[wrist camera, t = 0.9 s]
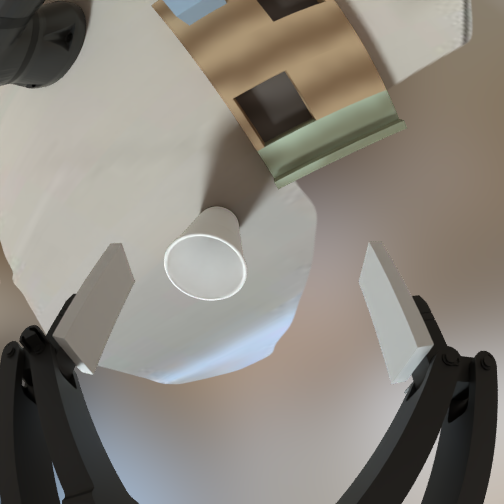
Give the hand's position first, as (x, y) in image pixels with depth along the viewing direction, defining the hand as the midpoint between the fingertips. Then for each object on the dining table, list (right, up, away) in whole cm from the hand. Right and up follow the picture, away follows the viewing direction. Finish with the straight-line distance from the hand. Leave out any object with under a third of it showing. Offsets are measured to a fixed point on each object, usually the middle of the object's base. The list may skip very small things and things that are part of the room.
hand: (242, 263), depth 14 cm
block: (-6, +29, +6) cm, 30 cm away
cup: (-4, +5, +27) cm, 27 cm away
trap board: (+4, +25, +12) cm, 28 cm away
